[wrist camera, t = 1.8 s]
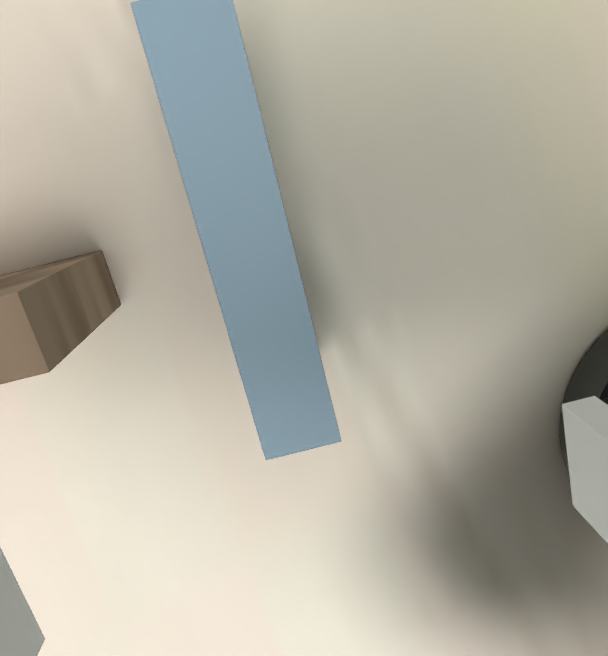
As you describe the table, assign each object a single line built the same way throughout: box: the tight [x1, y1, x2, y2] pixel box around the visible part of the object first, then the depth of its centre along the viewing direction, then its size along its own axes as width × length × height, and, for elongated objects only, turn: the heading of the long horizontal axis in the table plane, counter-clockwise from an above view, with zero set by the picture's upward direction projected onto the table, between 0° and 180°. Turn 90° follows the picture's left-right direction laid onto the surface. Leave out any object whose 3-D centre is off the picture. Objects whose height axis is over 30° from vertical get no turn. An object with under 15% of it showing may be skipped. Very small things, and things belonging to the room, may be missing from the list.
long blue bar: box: [131, 0, 341, 460], centre depth 23 cm, size 3×16×10 cm, turn 14°
